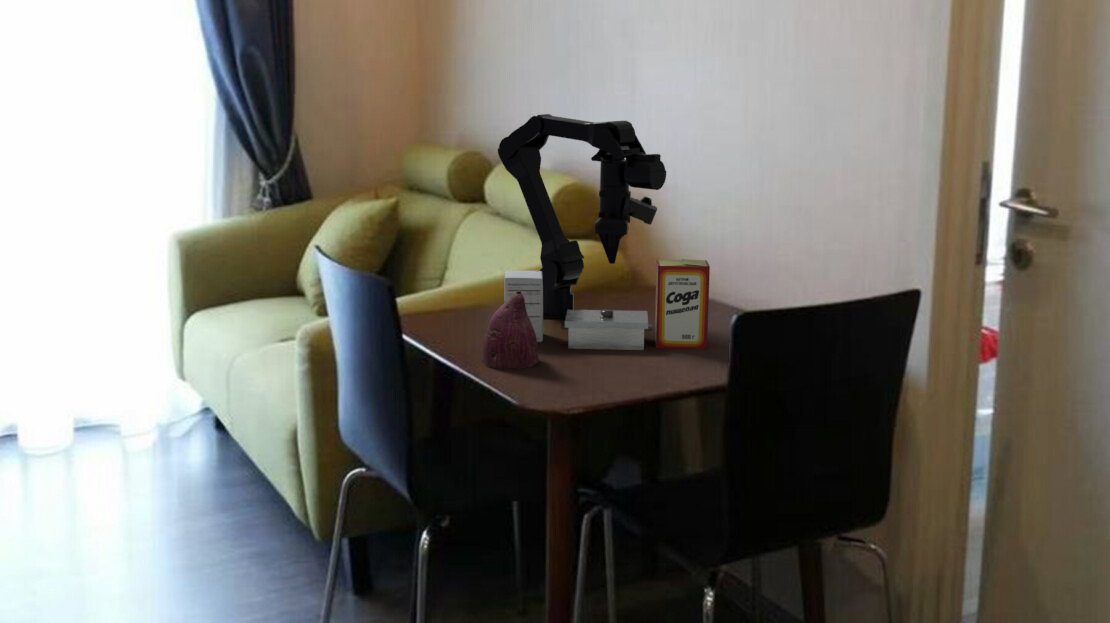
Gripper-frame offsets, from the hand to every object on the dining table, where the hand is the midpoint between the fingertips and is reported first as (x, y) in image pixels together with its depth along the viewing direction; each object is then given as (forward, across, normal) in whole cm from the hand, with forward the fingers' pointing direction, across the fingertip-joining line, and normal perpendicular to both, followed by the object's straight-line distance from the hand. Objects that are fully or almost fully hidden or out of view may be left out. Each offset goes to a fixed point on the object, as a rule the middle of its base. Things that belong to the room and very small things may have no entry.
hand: (612, 263), depth 240 cm
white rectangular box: (+13, -15, 0) cm, 20 cm away
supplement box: (+13, -12, +16) cm, 24 cm away
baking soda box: (+13, -14, -14) cm, 24 cm away
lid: (+9, -15, 0) cm, 17 cm away
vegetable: (+13, -31, +16) cm, 37 cm away
